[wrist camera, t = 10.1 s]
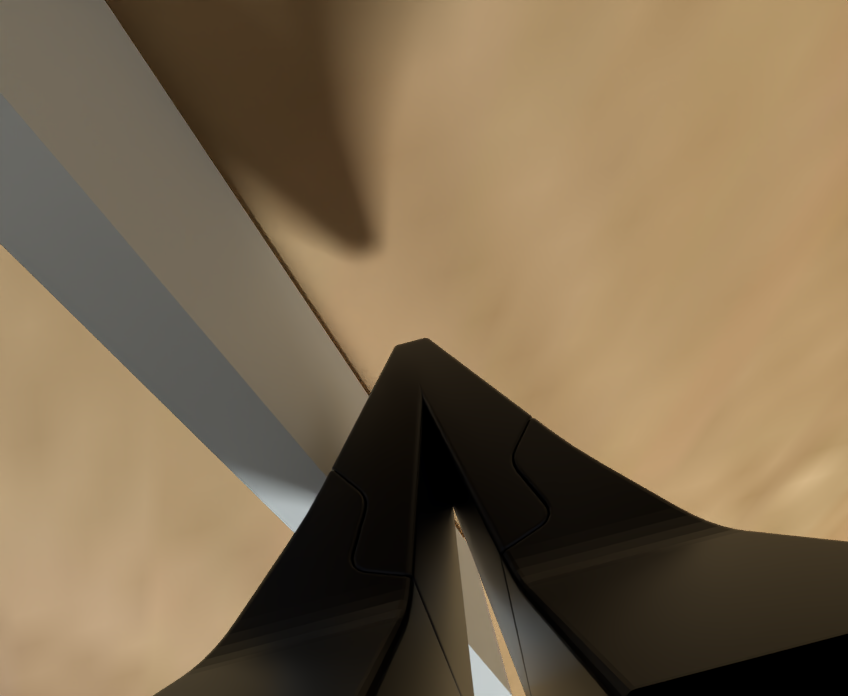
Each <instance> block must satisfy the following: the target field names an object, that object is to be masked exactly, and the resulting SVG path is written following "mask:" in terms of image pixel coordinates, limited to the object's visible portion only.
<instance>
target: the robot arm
mask: <svg viewBox="0 0 848 696" xmlns="http://www.w3.org/2000/svg"><path fill="white" fill-rule="evenodd" d="M453 508H454V510H455V513H456V516H457V518H458V521H459V523H460V526H461V529H462V531H463V534H464V536H465V539H466V541H467V544H468V547H469V549H470V552H471V554H472V557H473V560H474V562H475V565H476V567H477V570H478V573H479V575H480V578H481V580H482V583H483V585H484V588H485V591H486V593H487V596H488V598H489V601H490V604H491V606H492V609H493V611H494V614H495V617H496V619H497V622H498V624H499V627H500V629H501V632H502V635H503V637H504V640H505V642H506V645H507V648H508V650H509V653H510V655H511V658H512V661H513V663H514V666H515V668H516V671H517V673H518V676H519V679H520V681H521V684H522V686H523V689H524V692H525V694H526V696H848V542H847V541H837V540H828V539H819V538H809V537H800V536H790V535H781V534H772V533H762V532H753V531H744V530H737V529H732V528H728V527H724V526H721V525H718V524H715V523H712V522H709V521H706V520H704V519H702V518H699V517H697V516H695V515H693V514H691V513H689V512H687V511H685V510H683V509H681V508H679V507H677V506H675V505H674V504H672V503H670V502H668V501H667V500H665V499H663V498H661V497H660V496H658V495H656V494H654V493H653V492H651V491H649V490H647V489H646V488H644V487H642V486H640V485H639V484H637V483H635V482H633V481H632V480H630V479H628V478H626V477H625V476H623V475H621V474H619V473H618V472H616V471H614V470H612V469H611V468H609V467H607V466H605V465H604V464H602V463H600V462H599V461H597V460H595V459H594V458H592V457H590V456H589V455H587V454H586V453H584V452H582V451H581V450H579V449H577V448H576V447H574V446H572V445H571V444H570V443H568V442H567V441H565V440H564V439H562V438H561V437H560V436H558V435H557V434H555V433H554V432H552V431H551V430H550V429H548V428H547V427H545V426H544V425H543V424H542V423H540V422H539V421H538V420H536V419H535V418H532V416H531V415H529V414H528V413H527V412H525V411H524V410H523V409H521V408H520V407H519V406H517V405H516V404H515V403H513V402H512V401H511V400H509V399H508V398H507V397H505V396H504V395H503V394H501V393H500V392H499V391H497V390H496V389H495V388H493V387H492V386H491V385H489V384H488V383H487V382H485V381H484V380H483V379H482V378H480V377H479V376H478V375H476V374H475V373H474V372H472V371H471V370H470V369H468V368H467V367H466V366H464V365H463V364H462V363H460V362H459V361H458V360H456V359H455V358H454V357H452V356H451V355H450V354H448V353H447V352H446V351H444V350H443V349H442V348H440V347H439V346H438V345H436V344H435V343H434V342H432V341H431V340H430V339H428V338H423V339H419V340H415V341H411V342H407V343H404V344H400V345H397V346H395V348H394V349H393V351H392V353H391V355H390V357H389V359H388V361H387V363H386V365H385V367H384V369H383V370H382V372H381V374H380V376H379V378H378V380H377V382H376V384H375V386H374V388H373V390H372V392H371V394H370V395H369V397H368V399H367V401H366V403H365V405H364V407H363V409H362V411H361V413H360V415H359V417H358V419H357V420H356V422H355V424H354V426H353V428H352V430H351V432H350V434H349V436H348V438H347V440H346V442H345V444H344V445H343V447H342V449H341V451H340V453H339V455H338V457H337V459H336V461H335V463H334V465H333V467H332V471H330V472H329V474H328V476H327V478H326V480H325V482H324V483H323V485H322V487H321V489H320V491H319V493H318V494H317V496H316V498H315V500H314V502H313V503H312V505H311V507H310V509H309V511H308V512H307V514H306V516H305V517H304V519H303V520H302V522H301V524H300V525H299V527H298V528H297V530H296V531H295V533H294V535H293V536H292V538H291V539H290V541H289V542H288V544H287V546H286V547H285V548H284V550H283V551H282V553H281V554H280V556H279V557H278V559H277V560H276V562H275V563H274V565H273V566H272V568H271V569H270V571H269V572H268V574H267V575H266V577H265V578H264V580H263V581H262V583H261V584H260V586H259V587H258V589H257V590H256V592H255V593H254V595H253V596H252V598H251V599H250V600H249V602H248V603H247V605H246V606H245V608H244V609H243V611H242V612H241V614H240V615H239V617H238V618H237V620H236V621H235V623H234V624H233V625H232V627H231V628H230V630H229V631H228V632H227V634H226V635H225V636H224V637H223V639H222V640H221V641H220V642H219V643H218V645H217V646H216V647H215V648H214V649H213V650H212V651H211V652H210V653H209V654H208V655H207V656H206V657H205V658H204V659H203V660H202V661H201V662H200V663H199V664H198V665H197V666H195V667H194V668H193V669H192V670H191V671H189V672H188V673H186V674H185V675H184V676H182V677H181V678H179V679H178V680H176V681H175V682H173V683H172V684H170V685H169V686H167V687H166V688H164V689H162V690H161V691H159V692H158V693H156V694H155V695H153V696H474V689H473V680H472V672H471V663H470V654H469V645H468V636H467V627H466V618H465V609H464V600H463V592H462V583H461V574H460V565H459V556H458V547H457V538H456V529H455V520H454V512H453Z"/></svg>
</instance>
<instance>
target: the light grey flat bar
mask: <svg viewBox="0 0 848 696" xmlns="http://www.w3.org/2000/svg"><path fill="white" fill-rule="evenodd" d="M0 244H1V245H2V246H3V247H4V248H5V249H6V250H7V251H8V252H9V253H10V254H11V255H12V256H13V257H14V258H15V259H17V260H18V261H19V262H20V263H21V264H22V265H23V266H24V267H25V268H26V269H27V270H28V271H29V272H30V273H31V274H32V275H33V276H34V277H35V278H36V279H37V280H38V281H39V282H40V283H41V284H42V285H43V286H44V287H45V288H46V289H47V290H48V291H49V292H50V293H51V294H52V295H53V296H54V297H55V298H56V299H57V300H58V301H59V302H60V303H61V304H62V305H63V306H64V307H65V308H66V309H67V310H68V311H69V312H70V313H71V314H72V315H73V316H74V317H75V318H76V319H77V320H78V321H80V322H81V323H82V324H83V325H84V326H85V327H86V328H87V329H88V330H89V331H90V332H91V333H92V334H93V335H94V336H95V337H96V338H97V339H98V340H99V341H100V342H101V343H102V344H103V345H104V346H105V347H106V348H107V349H108V350H109V351H110V352H111V353H112V354H113V355H114V356H115V357H116V358H117V359H118V360H119V361H120V362H121V363H122V364H123V365H124V366H125V367H126V368H127V369H128V370H129V371H130V372H131V373H132V374H133V375H134V376H135V377H136V378H137V379H138V380H139V381H140V382H142V383H143V384H144V385H145V386H146V387H147V388H148V389H149V390H150V391H151V392H152V393H153V394H154V395H155V396H156V397H157V398H158V399H159V400H160V401H161V402H162V403H163V404H164V405H165V406H166V407H167V408H168V409H169V410H170V411H171V412H172V413H173V414H174V415H175V416H176V417H177V418H178V419H179V420H180V421H181V422H182V423H183V424H184V425H185V426H186V427H187V428H188V429H189V430H190V431H191V432H192V433H193V434H194V435H195V436H196V437H197V438H198V439H199V440H200V441H201V442H202V443H204V444H205V445H206V446H207V447H208V448H209V449H210V450H211V451H212V452H213V453H214V454H215V455H216V456H217V457H218V458H219V459H220V460H221V461H222V462H223V463H224V464H225V465H226V466H227V467H228V468H229V469H230V470H231V471H232V472H233V473H234V474H235V475H236V476H237V477H238V478H239V479H240V480H241V481H242V482H243V483H244V484H245V485H246V486H247V487H248V488H249V489H250V490H251V491H252V492H253V493H254V494H255V495H256V496H257V497H258V498H259V499H260V500H261V501H262V502H263V503H264V504H265V505H267V506H268V507H269V508H270V509H271V510H272V511H273V512H274V513H275V514H276V515H277V516H278V517H279V518H280V519H281V520H282V521H283V522H284V523H285V524H286V525H287V526H288V527H289V528H290V529H291V530H292V531H293V532H294V533H295V531H296V530H297V528H298V527H299V525H300V524H301V522H302V520H303V519H304V517H305V516H306V514H307V512H308V511H309V509H310V507H311V505H312V503H313V502H314V500H315V498H316V496H317V494H318V493H319V491H320V489H321V487H322V485H323V483H324V482H325V480H326V478H327V476H328V474H329V472H330V471H332V467H333V465H334V463H335V461H336V459H337V457H338V455H339V453H340V451H341V449H342V447H343V445H344V444H345V442H346V440H347V438H348V436H349V434H350V432H351V430H352V428H353V426H354V424H355V422H356V420H357V419H358V417H359V415H360V413H361V411H362V409H363V407H364V405H365V403H366V401H367V399H368V397H369V396H368V394H367V393H366V391H365V390H364V388H363V387H362V385H361V384H360V382H359V381H358V379H357V378H356V376H355V375H354V373H353V372H352V370H351V369H350V367H349V366H348V364H347V363H346V361H345V360H344V358H343V357H342V355H341V354H340V352H339V351H338V349H337V348H336V346H335V345H334V343H333V342H332V340H331V339H330V337H329V336H328V334H327V333H326V331H325V330H324V328H323V327H322V325H321V324H320V322H319V321H318V319H317V318H316V316H315V315H314V313H313V312H312V310H311V309H310V307H309V306H308V304H307V303H306V301H305V300H304V298H303V297H302V295H301V294H300V292H299V291H298V289H297V288H296V286H295V285H294V283H293V282H292V280H291V279H290V277H289V276H288V274H287V273H286V271H285V270H284V268H283V267H282V265H281V264H280V262H279V261H278V259H277V258H276V256H275V255H274V253H273V252H272V250H271V249H270V247H269V246H268V244H267V243H266V241H265V240H264V238H263V237H262V235H261V234H260V232H259V231H258V229H257V228H256V226H255V225H254V223H253V222H252V220H251V219H250V217H249V216H248V214H247V213H246V211H245V210H244V208H243V207H242V205H241V204H240V202H239V201H238V199H237V198H236V196H235V195H234V193H233V192H232V190H231V189H230V187H229V186H228V184H227V183H226V181H225V180H224V178H223V177H222V175H221V174H220V172H219V171H218V169H217V168H216V166H215V165H214V163H213V162H212V160H211V159H210V157H209V156H208V154H207V153H206V151H205V150H204V148H203V147H202V145H201V144H200V142H199V141H198V139H197V138H196V136H195V135H194V133H193V132H192V130H191V129H190V127H189V126H188V124H187V123H186V121H185V120H184V118H183V117H182V115H181V114H180V112H179V111H178V109H177V108H176V106H175V105H174V103H173V102H172V100H171V99H170V97H169V96H168V94H167V93H166V91H165V90H164V88H163V87H162V85H161V84H160V82H159V81H158V79H157V78H156V76H155V75H154V73H153V72H152V70H151V69H150V67H149V66H148V64H147V63H146V61H145V60H144V58H143V57H142V55H141V54H140V52H139V51H138V49H137V48H136V46H135V45H134V43H133V42H132V40H131V39H130V37H129V36H128V34H127V33H126V31H125V30H124V28H123V27H122V25H121V24H120V22H119V21H118V19H117V18H116V16H115V15H114V13H113V12H112V10H111V9H110V7H109V6H108V4H107V3H106V1H105V0H0ZM455 529H456V538H457V547H458V556H459V565H460V574H461V583H462V592H463V600H464V609H465V618H466V627H467V636H468V645H469V654H470V663H471V672H472V680H473V689H474V696H512V692H511V689H510V685H509V682H508V678H507V674H506V671H505V667H504V663H503V660H502V656H501V653H500V649H499V645H498V642H497V638H496V634H495V631H494V627H493V624H492V620H491V616H490V613H489V609H488V606H487V602H486V598H485V595H484V591H483V587H482V584H481V580H480V577H479V573H478V570H477V567H476V565H475V562H474V560H473V557H472V554H471V552H470V549H469V547H468V544H467V543H466V541H465V540H464V538H463V537H462V535H461V534H460V532H459V531H458V529H457V528H456V526H455Z"/></svg>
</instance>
